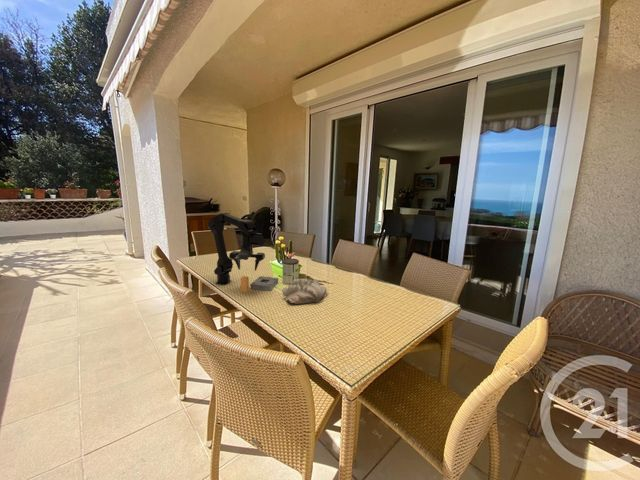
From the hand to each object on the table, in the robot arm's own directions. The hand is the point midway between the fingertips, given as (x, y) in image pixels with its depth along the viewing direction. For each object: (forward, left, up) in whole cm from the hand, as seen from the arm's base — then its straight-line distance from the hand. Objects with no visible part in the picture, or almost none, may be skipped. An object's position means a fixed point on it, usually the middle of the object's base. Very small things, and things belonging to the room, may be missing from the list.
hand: (247, 270), depth 144 cm
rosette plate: (+7, +9, -12) cm, 16 cm away
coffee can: (+20, +19, -12) cm, 30 cm away
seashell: (+35, 0, -12) cm, 37 cm away
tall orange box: (-1, -1, -12) cm, 12 cm away
